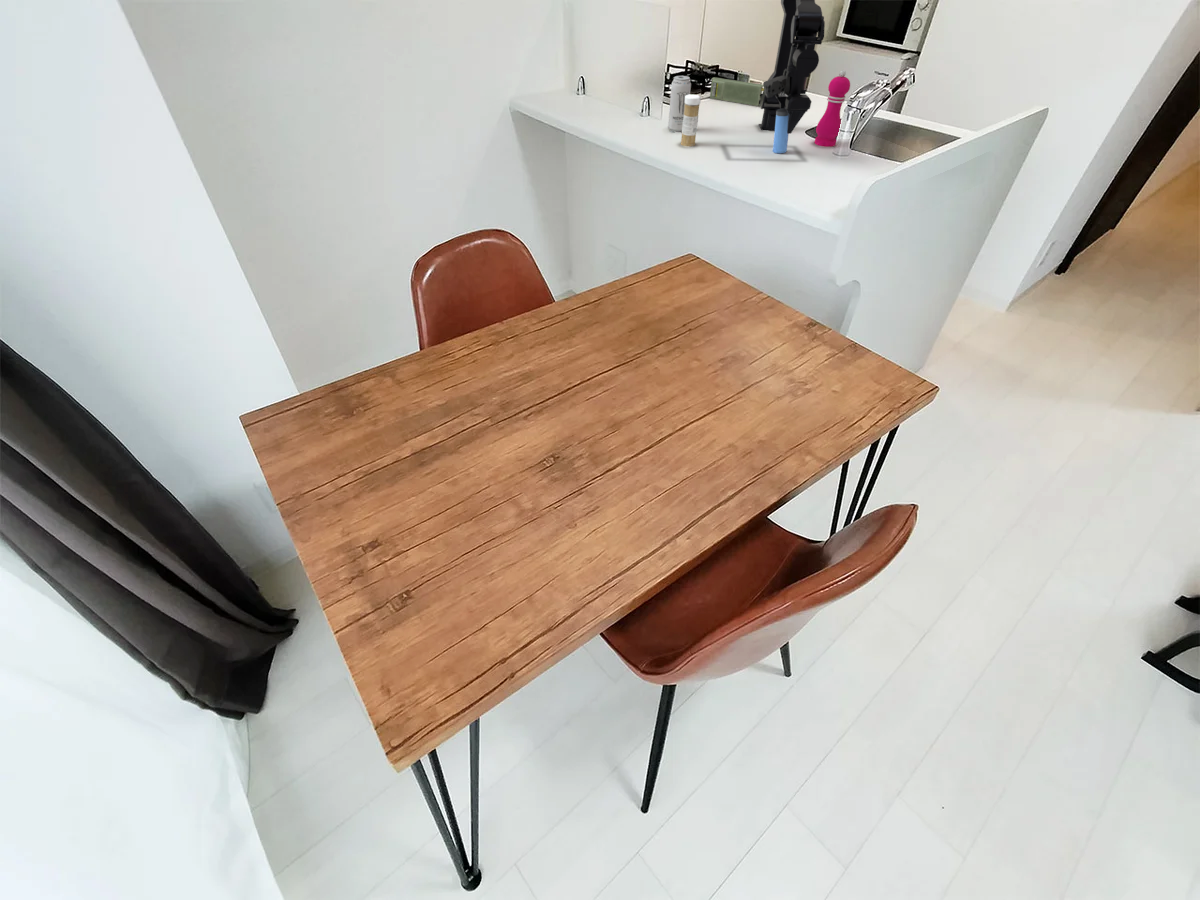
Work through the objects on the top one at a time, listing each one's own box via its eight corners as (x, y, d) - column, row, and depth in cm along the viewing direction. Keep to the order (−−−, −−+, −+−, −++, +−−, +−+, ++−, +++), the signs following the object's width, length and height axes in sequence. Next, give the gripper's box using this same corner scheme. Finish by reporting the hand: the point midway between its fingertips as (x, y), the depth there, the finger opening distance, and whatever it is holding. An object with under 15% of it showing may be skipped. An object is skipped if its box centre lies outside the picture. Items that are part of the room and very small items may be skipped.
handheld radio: (712, 96, 228) (775, 107, 218) (708, 98, 226) (771, 109, 216) (714, 76, 223) (779, 86, 213) (710, 78, 221) (775, 88, 211)
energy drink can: (672, 134, 192) (677, 80, 182) (664, 128, 197) (668, 76, 186) (689, 132, 194) (695, 79, 184) (680, 127, 198) (686, 74, 188)
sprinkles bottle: (688, 142, 187) (693, 93, 178) (698, 146, 184) (704, 96, 175) (677, 144, 185) (681, 95, 176) (686, 148, 182) (692, 98, 173)
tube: (775, 109, 174) (789, 107, 174) (771, 149, 181) (785, 148, 181) (778, 113, 171) (792, 111, 171) (774, 154, 178) (788, 152, 178)
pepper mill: (834, 141, 189) (853, 67, 176) (838, 149, 184) (858, 73, 170) (810, 140, 190) (828, 67, 176) (814, 147, 184) (832, 72, 171)
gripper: (762, 58, 172) (752, 119, 182) (776, 73, 158) (764, 138, 169) (801, 59, 172) (788, 119, 182) (818, 74, 158) (803, 138, 169)
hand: (785, 128), depth 176 cm, fingers open, 9 cm apart
